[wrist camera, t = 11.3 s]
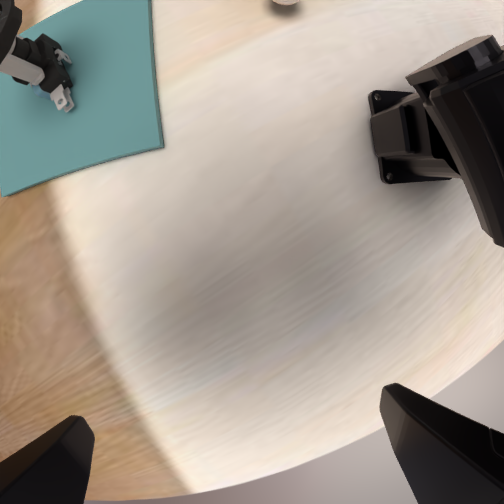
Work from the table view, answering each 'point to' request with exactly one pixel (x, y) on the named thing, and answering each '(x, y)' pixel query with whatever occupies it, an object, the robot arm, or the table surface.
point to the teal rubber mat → (84, 96)
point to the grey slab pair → (285, 2)
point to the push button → (33, 59)
